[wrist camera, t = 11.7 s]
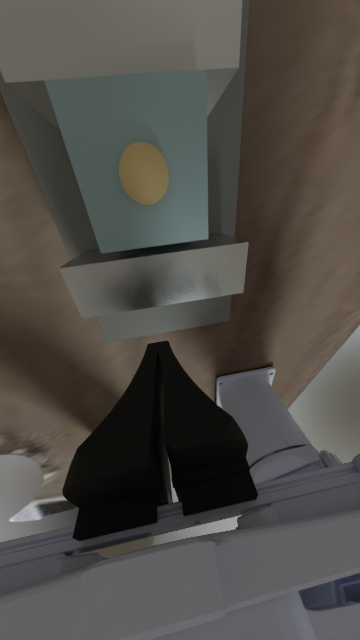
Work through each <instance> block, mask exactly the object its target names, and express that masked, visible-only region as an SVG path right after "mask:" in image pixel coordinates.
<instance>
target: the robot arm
mask: <svg viewBox="0 0 360 640" xmlns="http://www.w3.org/2000/svg"><path fill="white" fill-rule="evenodd" d="M275 371H276V369H275V368H274V367H267V368H262V369H257V370H251V371H246V372H241V373H236V374H231V375H226V376H220V377H218V378H217V380H216V403H215V402H214V401H213V400H211V399H210V398H209V397H208V396H207V395H206V394H205V393H204V392H203V391H202V390H201V389H200V388H199V387H198V386H197V385H196V384H195V383H194V382H193V380H192V379H191V378H190V377H189V376H188V374H187V373H186V372H185V371H184V369H183V368H182V366H181V365H180V363H179V362H178V360H177V359H176V357H175V355H174V353H173V351H172V349H171V347H170V344H169V342H168V341H162V342H156V343H150V344H148V345H147V349H146V352H145V354H144V357H143V359H142V361H141V364H140V366H139V368H138V370H137V372H136V374H135V376H134V378H133V379H132V381H131V383H130V385H129V386H128V388H127V389H126V391H125V393H124V394H123V396H122V397H121V398H120V400H119V401H118V403H117V404H116V405H115V407H114V408H113V409H112V410H111V412H110V413H109V414H108V415H107V417H106V418H105V419H104V420H103V421H102V423H101V424H100V425H99V426H98V427H97V428H96V429H95V430H94V431H93V433H92V434H91V435H90V436H89V437H88V438H87V439H86V440H85V441H84V442H83V443H82V444H81V445H80V446H79V447H78V448H77V450H76V453H75V455H74V458H73V460H72V462H71V465H70V468H69V471H68V474H67V478H66V481H65V484H64V487H63V490H62V491H63V496H64V497H65V498H66V499H67V500H68V501H70V502H71V503H73V504H74V505H76V506H77V507H78V508H79V512H78V516H77V521H76V525H75V526H70V527H66V528H62V529H57V530H53V531H49V532H44V533H40V534H35V535H31V536H27V537H23V538H19V539H14V540H9V541H5V542H1V543H0V640H360V454H358V455H357V456H355V457H354V458H353V460H352V462H349V463H344V464H343V463H342V462H341V461H340V459H339V458H338V457H337V456H336V455H335V454H332V453H329V452H328V451H327V450H323V451H320V453H319V452H318V451H317V450H316V449H315V448H314V447H313V446H312V444H311V443H310V441H309V440H308V438H307V437H306V436H305V434H304V433H303V431H302V430H301V428H300V427H299V425H298V424H297V423H296V421H295V420H294V418H293V417H292V415H291V414H290V412H289V411H288V410H287V408H286V407H285V405H284V404H283V402H282V401H281V399H280V398H279V396H278V395H277V394H276V392H275V391H274V389H273V388H272V386H271V385H272V381H273V378H274V374H275ZM168 458H169V461H170V464H171V472H172V484H173V487H174V488H175V491H176V494H177V497H178V500H179V502H175V503H173V500H172V492H171V482H170V472H169V462H168ZM239 515H242V516H240V517H238V519H237V522H238V527H237V528H236V529H235V530H231V531H225V532H219V533H213V534H207V535H202V536H197V537H191V538H187V539H182V540H177V541H173V542H168V543H164V544H160V545H156V546H152V547H148V548H144V549H140V550H137V551H133V552H129V553H126V554H122V555H119V556H116V557H113V558H105V557H102V556H100V555H99V553H98V552H96V553H88V554H81V553H85V552H90V551H94V550H98V549H102V548H106V547H110V546H114V545H119V544H123V543H127V542H131V541H135V540H139V539H144V538H148V537H152V536H156V535H160V534H164V533H168V532H173V531H177V530H181V529H185V528H189V527H193V526H197V525H201V524H206V523H210V522H214V521H218V520H222V519H227V518H231V517H235V516H239ZM77 554H79V555H77Z"/></svg>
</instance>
